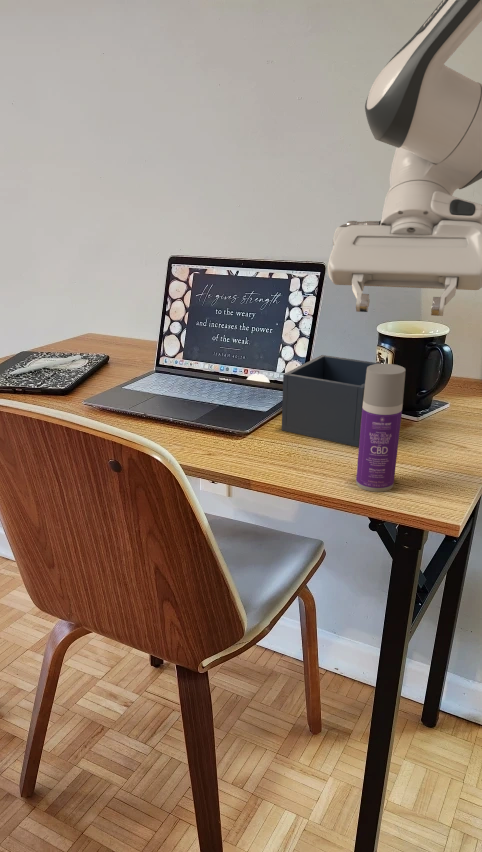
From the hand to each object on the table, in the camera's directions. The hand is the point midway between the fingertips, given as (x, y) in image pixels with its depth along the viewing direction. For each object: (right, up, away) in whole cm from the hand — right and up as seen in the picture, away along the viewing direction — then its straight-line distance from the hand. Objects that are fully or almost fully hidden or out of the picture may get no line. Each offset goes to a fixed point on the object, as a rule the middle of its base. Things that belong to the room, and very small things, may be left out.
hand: (398, 311), depth 88 cm
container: (-3, -22, -1) cm, 23 cm away
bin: (-4, -13, +18) cm, 22 cm away
